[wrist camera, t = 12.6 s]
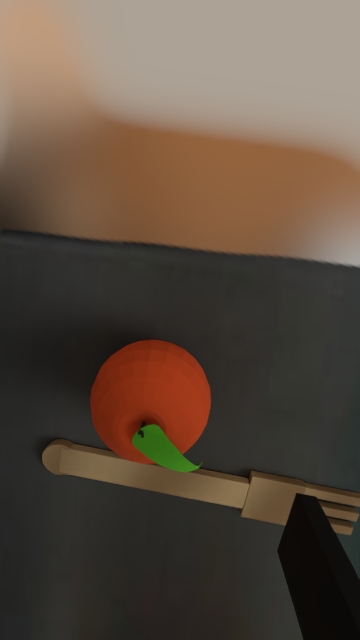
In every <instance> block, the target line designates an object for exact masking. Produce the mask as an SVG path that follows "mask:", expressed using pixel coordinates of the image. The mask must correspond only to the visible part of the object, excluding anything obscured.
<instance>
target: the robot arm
mask: <svg viewBox="0 0 360 640" xmlns="http://www.w3.org/2000/svg"><path fill="white" fill-rule="evenodd" d="M277 551H278V555H279V558H280V561H281V565H282V568H283V572H284V575H285V578H286V582H287V585H288V588H289V592H290V595H291V599H292V602H293V605H294V609H295V612H296V615H297V619H298V622H299V626H300V629H301V632H302V636H303V639H304V640H360V579H359V578H358V576H357V574H356V572H355V570H354V568H353V566H352V564H351V562H350V560H349V558H348V557H347V555H346V553H345V551H344V549H343V547H342V545H341V543H340V541H339V539H338V537H337V535H336V534H335V532H334V530H333V528H332V526H331V524H330V522H329V520H328V518H327V516H326V514H325V512H324V511H323V509H322V507H321V505H320V503H319V501H318V499H317V497H316V496H311V495H306V494H300V493H296V495H295V498H294V501H293V504H292V507H291V510H290V513H289V516H288V520H287V523H286V526H285V529H284V532H283V535H282V538H281V541H280V544H279V547H278V550H277Z"/></svg>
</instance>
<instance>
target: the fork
mask: <svg viewBox="0 0 360 640" xmlns="http://www.w3.org/2000/svg"><path fill="white" fill-rule="evenodd" d="M42 461H43V464H44V466H45V467H46V468H47V470H49V471H50V472H52V473H54V474H57V475H66V474H69V475H74V476H79V477H84V478H89V479H94V480H100V481H105V482H110V483H115V484H120V485H125V486H130V487H135V488H140V489H145V490H150V491H155V492H160V493H165V494H171V495H176V496H181V497H186V498H191V499H196V500H201V501H206V502H211V503H216V504H221V505H226V506H231V507H236V508H240V515H241V517H245V518H250V519H256V520H261V521H266V522H271V523H276V524H281V525H286V523H287V520H288V516H289V513H290V510H291V507H292V504H293V501H294V498H295V495H296V493H300V494H306V495H311V496H316V497H317V498H318V499H323V500H328V501H333V502H338V503H343V504H348V505H353V506H358V507H360V493H355V492H350V491H345V490H340V489H335V488H330V487H325V486H320V485H315V484H310V483H305V482H304V481H303V480H298V479H293V478H288V477H283V476H278V475H273V474H268V473H263V472H258V471H253V470H251V471H250V474H249V478H245V477H240V476H235V475H230V474H225V473H220V472H215V471H210V470H204V469H199V468H198V469H196V470H194V471H190V472H180V471H175V470H171V469H168V468H166V467H163V466H161V465H159V464H157V463H153V464H142V463H137V462H132V461H129V460H127V459H125V458H123V457H120V456H119V455H118V454H116V453H115V452H113V451H108V450H103V449H98V448H93V447H88V446H83V445H78V444H73V443H72V442H70V441H68V440H65V439H57V440H54V441H52V442H51V443H50V444H49V445H48V446H47V448H46V449H45V450H44V452H43V455H42ZM319 503H320V505H321V507H322V509H323V511H324V512H325V514H326V516H331V517H336V518H341V519H346V520H351V521H357V518H358V516H359V513H358V512H357V510H356V508H354V507H349V506H344V505H339V504H333V503H328V502H323V501H319ZM327 518H328V517H327ZM328 520H329V522H330V524H331V526H332V528H333V530H334V532H336V533H341V534H346V535H351V533H352V531H353V527H352V525H351V523H350V522H348V521H343V520H338V519H333V518H328Z"/></svg>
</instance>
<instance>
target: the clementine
mask: <svg viewBox="0 0 360 640" xmlns="http://www.w3.org/2000/svg"><path fill="white" fill-rule="evenodd" d="M90 406H91V413H92V419H93V424H94V427H95V429H96V431H97V433H98V435H99V437H100V438H101V439H102V441H103V442H104V443H105V444H106V445H107V447H109V448H110V449H111V450H113V451H114V452H115V453H116V454H118V455H119V456H120V457H123V458H125V459H127V460H129V461H132V462H137V463H142V464H153V463H157V464H159V465H161V466H163V467H166V468H168V469H171V470H175V471H180V472H190V471H194V470H196V469H198V468H199V467H200V466H201V464H202V462H201V463H200V464H199V465H198V466H196V465H194V464H192V463H191V462H190V461H188V460H187V459H186V458H185V457H184V456H183V455H182V454H183V453H185V452H186V451H187V450H188V449H189V448H190V447H191V446H192V445H193V444H194V443H195V442H196V441H197V439H198V438H199V437H200V435H201V434H202V432H203V430H204V428H205V426H206V425H207V420H208V416H209V412H210V406H211V396H210V387H209V384H208V381H207V379H206V376H205V373H204V371H203V369H202V368H201V366H200V365H199V363H198V362H197V361H196V359H195V358H194V357H193V356H192V355H191V354H189V353H188V352H187V351H186V350H185V349H183V348H181V347H179V346H177V345H175V344H173V343H170V342H166V341H161V340H141V341H138V342H135V343H132V344H129V345H126V346H125V347H123V348H122V349H120V350H119V351H117V352H116V353H115V354H113V355H112V356H110V357H109V358H108V360H107V361H106V362H105V363H104V364H103V365H102V367H101V368H100V370H99V373H98V375H97V377H96V379H95V382H94V384H93V386H92V390H91V398H90Z"/></svg>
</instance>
